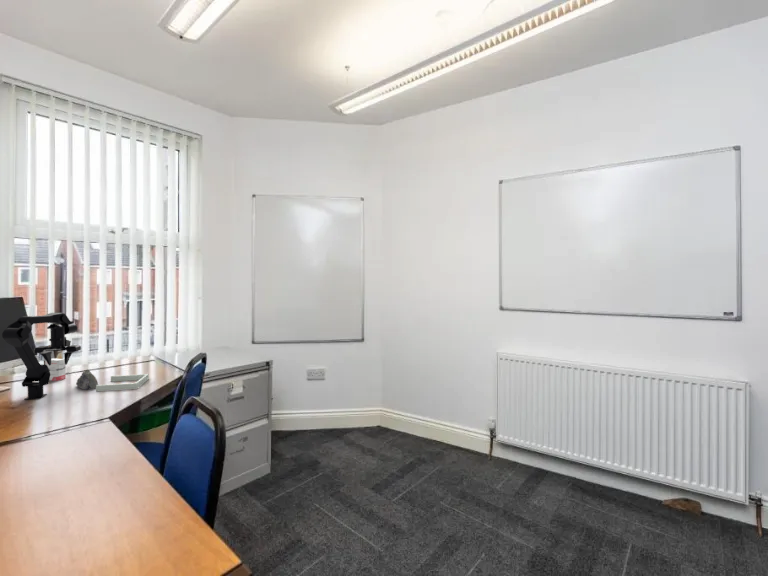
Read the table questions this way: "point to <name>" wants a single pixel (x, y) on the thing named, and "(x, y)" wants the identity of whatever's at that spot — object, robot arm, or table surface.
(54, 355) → the coffee box
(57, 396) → the table surface
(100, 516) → the table surface
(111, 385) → the pale grey u-shaped frame
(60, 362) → the ink box
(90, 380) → the mineral rock
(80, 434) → the table surface
